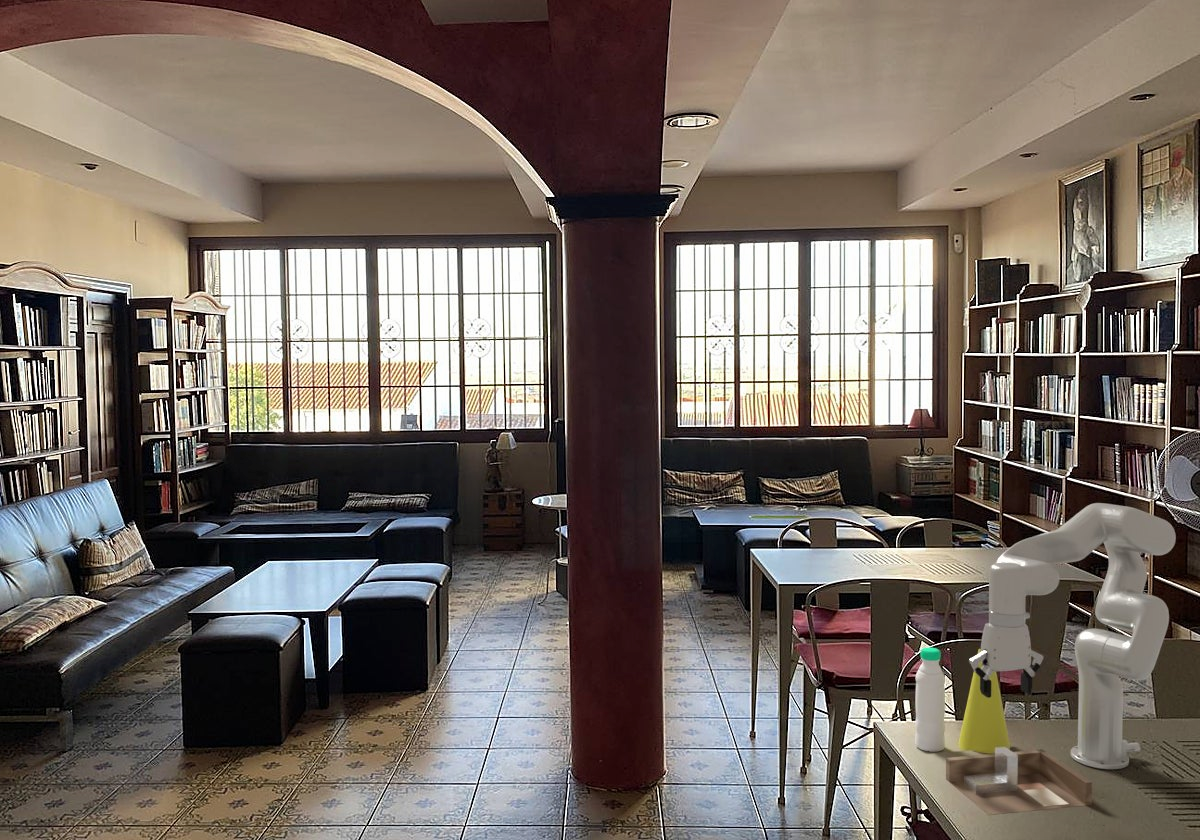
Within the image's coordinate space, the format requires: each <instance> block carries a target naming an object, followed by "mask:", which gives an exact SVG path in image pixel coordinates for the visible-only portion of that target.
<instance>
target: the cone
mask: <svg viewBox="0 0 1200 840" xmlns="http://www.w3.org/2000/svg"><path fill="white" fill-rule="evenodd" d="M979 653H981V648H978V651H977V654H979ZM979 667H980V669H981V668H982V667H983V665H982V664H981V662H979ZM989 680H991V697H990V698H987V697H986V696H984V695H983V694H981V691H980V677H979V676H978V675H977V674H976V673H975V672H974V671H973V674H972V678H971V682H970V683H971V684H970V688H969V692H968V698H967V702H966V707H965V711H964V716H963V720H962V723H961V724H962V725H961V730H960V734H959V739H958V743H957V745H958V744H959V746H958V748H959V747H960V748H961V749H962V750H964V751H963V752H969V751H973V752H976V753H981V754H995V748H996V747H1006V748H1008V749H1009V750H1010V749H1011V744H1010V738H1009V732H1008V727H1007V722H1006V717H1005V712H1004V706H1003V701H1002V696H1001V695H1002V694H1001V690H1000V686H999V680H998V676H997V671H994V673H993V674H992V675H991V677H990V678H989ZM960 748H959V749H960ZM961 749H960V750H961ZM962 750H961V751H962Z"/></svg>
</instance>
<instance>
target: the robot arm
mask: <svg viewBox="0 0 1200 840" xmlns="http://www.w3.org/2000/svg"><path fill="white" fill-rule="evenodd" d="M1176 537H1177V536H1176V532H1175V528H1174V527H1173V526H1172V524H1171V523H1170V522H1168V521H1167V520H1166V519H1163V518H1161V517H1158V516H1155V515H1153V514H1151V513H1149V512H1146V511H1143V510H1140V509H1139V508H1138V509H1137V508H1135V507H1131V506H1128V505H1127V506H1126V505H1125V506H1124V505H1119V504H1112V503H1104V502H1103V503H1102V502H1095V503H1091V504H1089V505H1086V506H1085V507H1084V508H1082V509H1081V510H1080V511H1079V512H1077V513H1076V514H1075V515H1073V517H1071V518H1069V520H1068V521H1066V522H1065V523H1064V524H1062V525H1061V526H1060V527H1059V528H1057V529H1055V530H1051V531H1048V532H1044V533H1040V534H1037V535H1034V536H1032V537H1031V536H1030V537H1028V538H1025V539H1022V540H1020V541H1018V542H1016V543H1014V544H1013V545H1012V546H1010V547H1009V548H1008V549H1006V550H1004V552H1003V553H1002V554H1000V556H999V557H998V558H997V559H996V560H995V563H993V564H991V566H990V567H989V571H988V574H989V575H988V580H989V581H988V583H989V584H988V590H989V591H988V622H987V623H985V624H984V627H983V631H982V636H981V643H980V649H981V653H979V654H978V653H977V654H976V655H974V656H972V657H970V658H969V660H968V663H969V664H970V665H971V667H972V671H973V673H974V672H975V673H976V674H977V675H978V676H979V677H980V691H981V694H983V695H984V696H986V697H987V698H990V697H991V680H989V678H990V677H991V675H992V674H993V673H994V671H996V672H1008V671H1020V670H1021V671H1022V672H1021V673H1020V691H1022V692H1023V693H1025V694H1027V695H1029V696H1030V695H1032V690H1033V677H1035V676H1036V673H1037V671H1039V669H1040V666H1041V664H1042V662H1043V660H1044V655H1042V654H1040V653H1038V652H1036V651H1035V650H1032V647H1031V646H1032V645H1031V644H1032V643H1031V638H1030V631H1029V627H1028V625H1027V624H1026V623H1027V622H1026V621H1027V619H1031V618H1030V617H1031V614H1030V612H1028V611H1027V612H1026V597H1027V596H1045V595H1049V594H1051V593H1053V592H1054V591H1055V590H1056V589H1057V587H1058V586H1059V584H1060V578H1061V577H1060V573H1059V571H1058V569H1057V568H1056V567H1055V566H1054V565H1052V564H1067V563H1068V564H1069V563H1074V562H1079V561H1081V560H1084V559H1085V558H1086V557H1087V556H1089V555H1090V554H1091V553H1092V552H1093V551H1094V550H1096V549H1097V548H1099V547H1100V546H1101V545H1102V544H1104V547H1105V551H1106V553H1107V557H1108V567H1107V572H1106V574H1105V578H1104V581H1103V583H1102V587H1101V589H1100V593H1099V595H1098V598H1097V602H1096V604H1095V610H1094V612H1095V617H1096V619H1097V620H1098V621H1099V622H1100V623H1102V624H1103V625H1106V626H1108V627H1112V628H1114V629H1115V628H1116V629H1118V630H1119V629H1120V630H1122V631H1125V632H1126V631H1127V632H1132V634H1131V636H1128V635H1124V634H1121V633H1117V632H1113V631H1109V630H1107V629H1101V628H1087V629H1084V630H1082V631H1080V632H1079V633H1078V635H1077V636H1076V638H1075V641H1074V654H1075V659H1076V664H1077V670H1078V671H1077V672H1078V715H1077V716H1078V717H1077V718H1078V719H1077V720H1078V721H1077V723H1078V724H1077V745H1075V746H1072V748H1071V749H1070V756H1071V757H1072V759H1073V760H1075V761H1076V762H1078V763H1080V764H1082V765H1085V766H1088V767H1091V768H1095V769H1102V770H1120V769H1124V768H1126V767H1128V766H1129V764H1130V758H1129V756H1128V755H1127V754H1129V752H1139V751H1141V745H1140V743H1139V742H1128V740H1127V739H1124V740H1123V719H1124V717H1123V715H1124V713H1123V711H1124V708H1123V707H1124V689H1123V686H1122V685H1123V684H1122V682H1121V679H1120V677H1121V678H1124V679H1129V680H1131V681H1139V682H1140V681H1144V680H1146V679H1147V678H1148V677H1149V676H1150V675H1151V674H1152V672H1153V670H1154V668H1155V665H1156V663H1157V660H1158V658H1159V654H1160V653H1161V652H1160V651H1161V648H1162V645H1163V643H1164V641H1165V640H1164V639H1165V636H1166V633H1167V631H1168V627H1169V622H1170V614H1169V612H1170V611H1169V608H1168V606H1167V604H1166V602H1165V601H1164V600H1163V599H1162V598H1159V597H1158V596H1155V595H1152V594H1147V593H1144V589H1145V586H1146V582H1147V578H1148V571H1147V567H1146V564H1145V562H1144V559H1143V558H1142V557H1141V554H1146V555H1153V556H1163V555H1166V554H1168V553H1169V552H1171V551H1172V549H1173V548H1174V546H1175V544H1176ZM1140 553H1141V554H1140ZM1032 658H1033V660H1032ZM979 662H981V664H982V665H983V667H982V668H981V669H980V667H979Z"/></svg>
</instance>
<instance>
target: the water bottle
mask: <svg viewBox="0 0 1200 840" xmlns="http://www.w3.org/2000/svg"><path fill="white" fill-rule="evenodd" d="M919 655H920V659H921V661H922V663H921V664H920V666H919V667H918V669H917V671H916V674H915V723H914V724H915V727H914V728H915V736H914V744H915V746H916V747H917V748H918V749H919V750H921V751H925V752H928V751H929V752H930V753H937V752H938V753H939V752H940V751H943V750H944V749H945V746H946V738H945V730H946V724H945V723H946V722H945V714H946V688H945V685H946V676H945V674H944V671H942V667H941V666H940V664H939V663H940V660H941V655H942V654H941V651H940V649H938V648H936V647H930V646H929V647H923V648H921V649H920V653H919ZM929 752H928V753H929Z"/></svg>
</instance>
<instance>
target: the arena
mask: <svg viewBox="0 0 1200 840" xmlns="http://www.w3.org/2000/svg"><path fill="white" fill-rule="evenodd" d="M1013 752H1014V753H1015V754H1016V755H1018V774H1017V790H1016V791H1005V792H995V793H984V794H975V793H974V792H972V791H971V790H970V789H969V788H967V787H966V786H965V785H964V776H970V775H981V774H992V773H995V754H991V753H984V754H975V755H964V756H962V755H961V756H952V757H945V780H946V781H947V782H949V783H950V784H951V785H953V787H954V788H955V789H957V790H958V791H959V792H960V793H962V794H963V795H964V796H965V797H967V799H969V800H970V801H971V802H973V803H974V804H975V805H976V806H977V807H978V808H980V810H982V811H983V812H984V813H986V814H987V815H988V816H991V815H992V816H994V815H1003V814H1004V815H1005V814H1015V813H1021V812H1023V813H1024V812H1033V811H1044V810H1045V811H1046V810H1054V809H1056V810H1057V809H1065V808H1066V809H1067V808H1073V807H1083V806H1085V807H1086V806H1092V803H1093V802H1092V800H1093V797H1092V795H1093V781H1092V780H1089V779H1088V778H1087V777H1085V776H1084V775H1082V774H1080V773H1078V771H1076V770H1075V769H1073V768H1071V767H1069V766H1068V765H1066V764H1065V763H1064V762H1062V761H1060V760H1059V759H1057V758H1056V757H1054V756H1053V755H1051V754H1049V752H1047V751H1045V750H1044V749H1033V750H1031V749H1030V750H1021V751H1020V750H1019V751H1013Z"/></svg>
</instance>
